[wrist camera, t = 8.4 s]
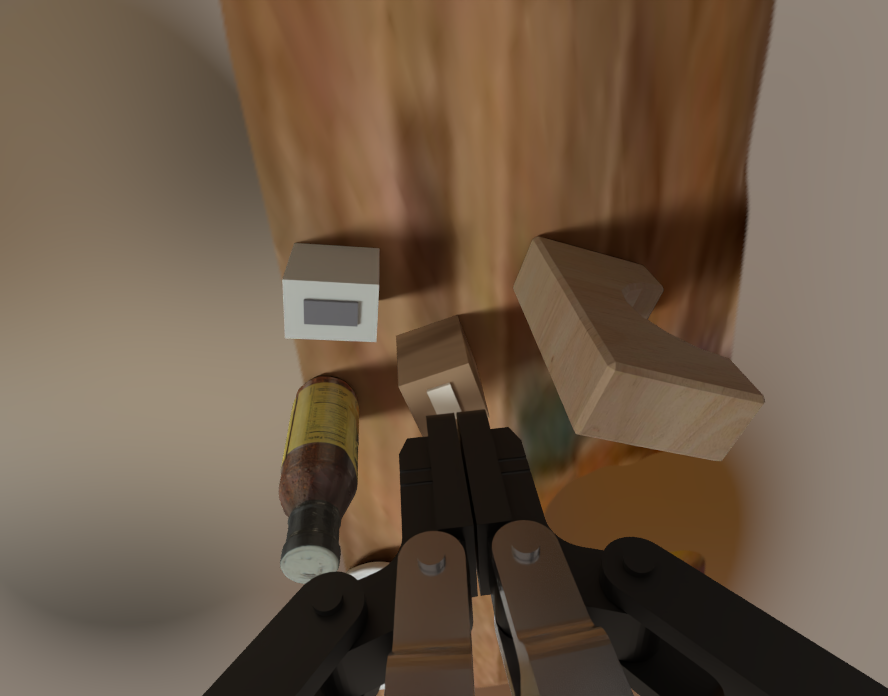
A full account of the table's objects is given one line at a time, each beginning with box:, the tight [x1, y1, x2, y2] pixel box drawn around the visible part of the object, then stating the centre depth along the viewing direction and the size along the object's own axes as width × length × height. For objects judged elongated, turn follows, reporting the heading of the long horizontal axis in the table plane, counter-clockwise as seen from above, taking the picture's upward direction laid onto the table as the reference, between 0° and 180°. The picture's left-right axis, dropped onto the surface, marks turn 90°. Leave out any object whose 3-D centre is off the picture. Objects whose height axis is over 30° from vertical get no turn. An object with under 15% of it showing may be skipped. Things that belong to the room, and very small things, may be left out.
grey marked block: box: [282, 243, 379, 342], centre depth 47 cm, size 5×7×7 cm
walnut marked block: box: [396, 315, 489, 437], centre depth 51 cm, size 6×6×8 cm
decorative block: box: [513, 236, 765, 461], centre depth 44 cm, size 11×6×20 cm, turn 71°
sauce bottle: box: [279, 376, 359, 584], centre depth 48 cm, size 7×6×20 cm
